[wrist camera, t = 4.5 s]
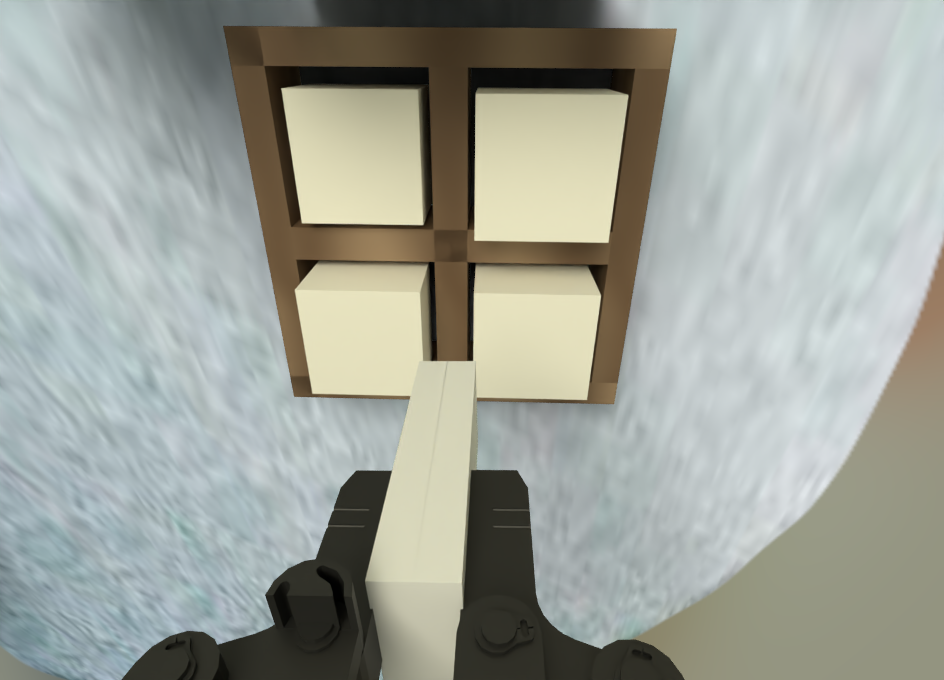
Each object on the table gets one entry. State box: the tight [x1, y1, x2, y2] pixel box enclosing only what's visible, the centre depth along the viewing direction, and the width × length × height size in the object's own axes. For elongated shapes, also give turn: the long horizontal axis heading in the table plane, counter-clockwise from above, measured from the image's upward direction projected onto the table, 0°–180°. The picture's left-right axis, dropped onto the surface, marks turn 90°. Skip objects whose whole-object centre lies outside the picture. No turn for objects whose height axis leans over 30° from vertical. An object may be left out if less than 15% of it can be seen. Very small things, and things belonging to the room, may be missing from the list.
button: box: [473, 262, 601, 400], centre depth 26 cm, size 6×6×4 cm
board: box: [223, 26, 677, 404], centre depth 27 cm, size 18×18×4 cm
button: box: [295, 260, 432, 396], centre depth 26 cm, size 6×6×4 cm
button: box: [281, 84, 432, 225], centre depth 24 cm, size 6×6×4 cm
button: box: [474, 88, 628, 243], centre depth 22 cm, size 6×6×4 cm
